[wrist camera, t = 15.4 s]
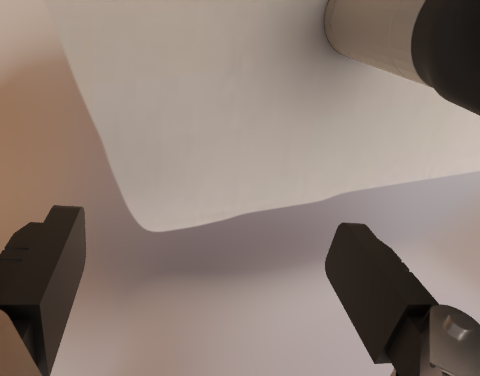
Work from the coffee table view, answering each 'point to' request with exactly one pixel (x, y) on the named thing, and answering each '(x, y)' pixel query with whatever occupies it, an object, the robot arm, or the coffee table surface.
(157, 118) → the coffee table surface
